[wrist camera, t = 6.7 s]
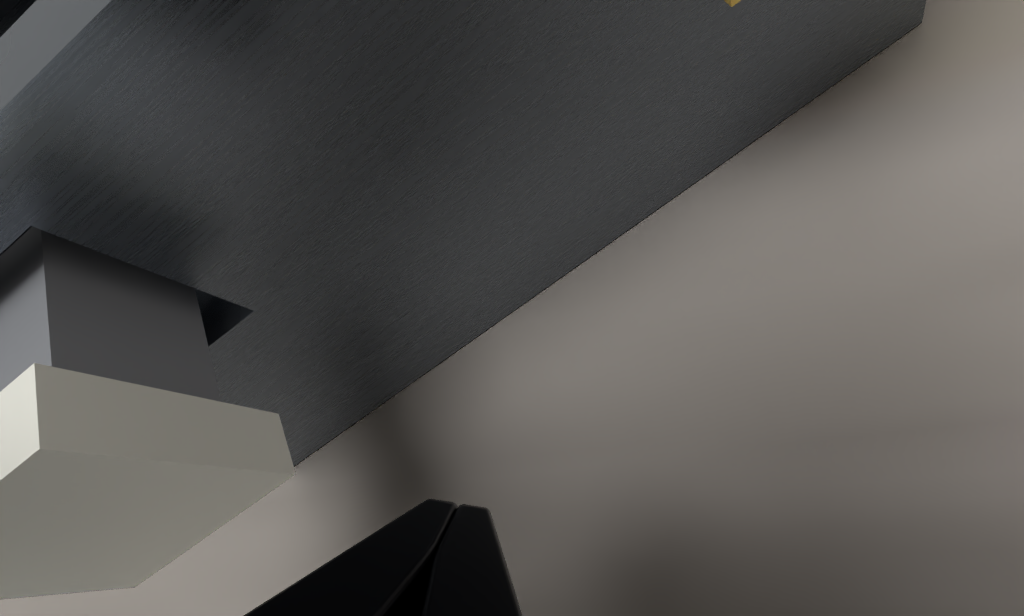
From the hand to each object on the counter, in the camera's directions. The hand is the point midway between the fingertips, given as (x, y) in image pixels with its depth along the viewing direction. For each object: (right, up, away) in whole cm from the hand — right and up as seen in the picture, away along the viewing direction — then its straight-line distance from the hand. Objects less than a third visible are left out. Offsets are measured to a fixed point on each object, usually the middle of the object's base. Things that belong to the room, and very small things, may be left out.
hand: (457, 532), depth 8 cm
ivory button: (-5, +1, +4) cm, 7 cm away
